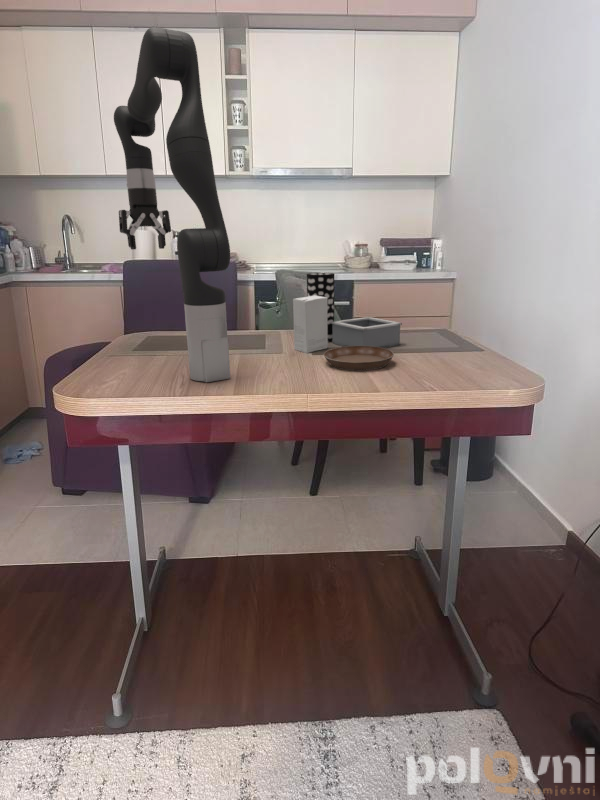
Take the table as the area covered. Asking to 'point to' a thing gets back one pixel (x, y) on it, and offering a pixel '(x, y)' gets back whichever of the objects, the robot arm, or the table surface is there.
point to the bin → (366, 332)
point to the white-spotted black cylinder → (323, 293)
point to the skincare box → (310, 323)
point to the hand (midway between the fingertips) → (147, 249)
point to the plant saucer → (358, 357)
